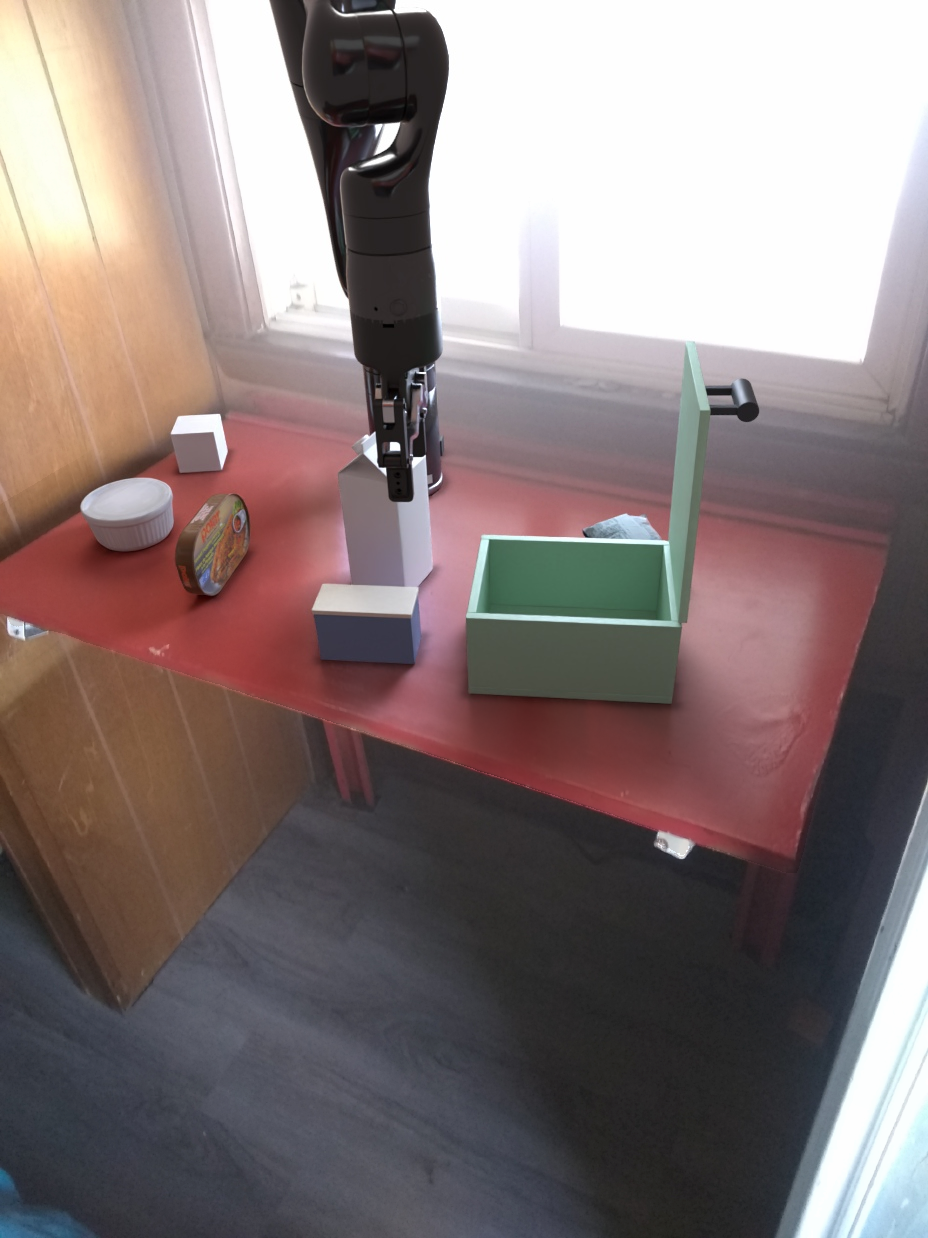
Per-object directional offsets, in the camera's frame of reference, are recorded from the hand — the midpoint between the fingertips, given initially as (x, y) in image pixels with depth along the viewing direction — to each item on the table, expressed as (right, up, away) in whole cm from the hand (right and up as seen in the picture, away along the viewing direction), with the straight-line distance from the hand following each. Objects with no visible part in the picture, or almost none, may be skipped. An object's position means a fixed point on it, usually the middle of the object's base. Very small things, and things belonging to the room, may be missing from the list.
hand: (408, 477), depth 85 cm
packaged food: (+25, -7, +24) cm, 35 cm away
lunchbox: (+16, -16, +11) cm, 26 cm away
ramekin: (-37, -2, +33) cm, 50 cm away
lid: (+25, -1, -2) cm, 25 cm away
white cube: (-33, +10, +49) cm, 60 cm away
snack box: (-5, -16, +13) cm, 21 cm away
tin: (-24, -8, +25) cm, 36 cm away
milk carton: (-3, -9, +23) cm, 25 cm away
